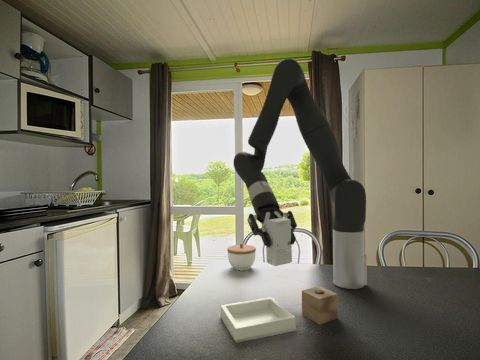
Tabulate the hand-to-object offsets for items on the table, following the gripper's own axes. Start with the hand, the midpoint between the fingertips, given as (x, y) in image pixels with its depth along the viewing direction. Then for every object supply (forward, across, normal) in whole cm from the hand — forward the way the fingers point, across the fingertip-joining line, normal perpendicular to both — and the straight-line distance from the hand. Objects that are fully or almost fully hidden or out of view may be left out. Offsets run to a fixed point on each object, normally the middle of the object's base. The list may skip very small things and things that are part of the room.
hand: (281, 244), depth 81 cm
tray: (+17, -12, +5) cm, 21 cm away
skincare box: (+3, 0, +5) cm, 6 cm away
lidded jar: (-12, -1, +34) cm, 36 cm away
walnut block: (+19, +4, +4) cm, 20 cm away
